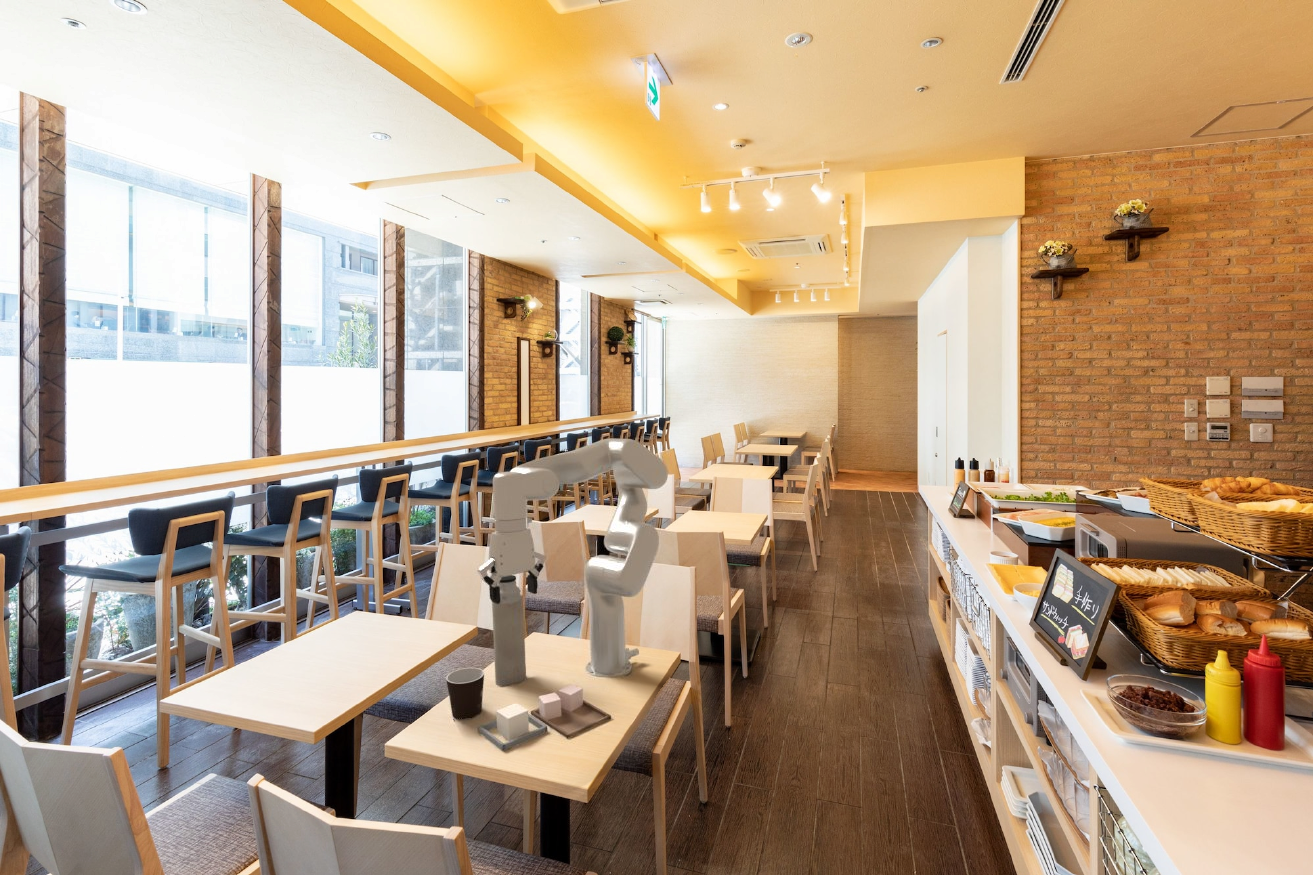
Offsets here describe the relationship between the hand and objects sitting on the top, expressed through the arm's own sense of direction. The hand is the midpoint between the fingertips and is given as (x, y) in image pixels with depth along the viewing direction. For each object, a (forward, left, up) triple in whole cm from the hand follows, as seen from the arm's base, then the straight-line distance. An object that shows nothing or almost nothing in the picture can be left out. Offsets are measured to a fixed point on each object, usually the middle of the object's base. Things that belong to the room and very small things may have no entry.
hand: (514, 597), depth 149 cm
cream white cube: (+6, +8, -28) cm, 29 cm away
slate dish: (+6, +8, -28) cm, 30 cm away
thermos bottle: (-8, -18, -28) cm, 35 cm away
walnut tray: (-7, +11, -28) cm, 31 cm away
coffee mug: (+8, -9, -28) cm, 31 cm away
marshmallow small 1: (-10, +7, -27) cm, 30 cm away
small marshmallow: (-4, +7, -27) cm, 28 cm away
